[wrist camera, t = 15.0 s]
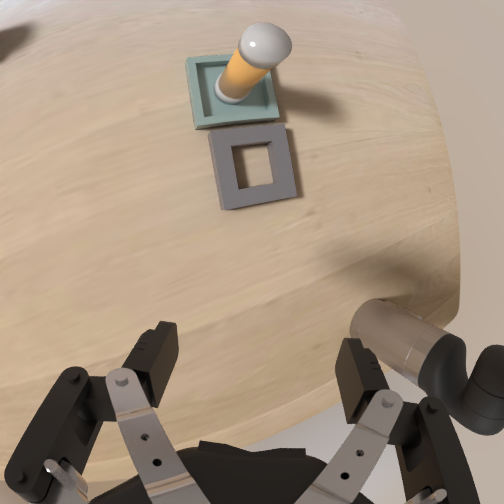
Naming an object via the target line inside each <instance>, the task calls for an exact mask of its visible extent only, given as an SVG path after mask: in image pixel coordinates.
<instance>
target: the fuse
mask: <svg viewBox="0 0 504 504" xmlns="http://www.w3.org/2000/svg"><path fill="white" fill-rule="evenodd" d="M291 50H292V42H291V39H290V37H289V36H288V34H287V33H286V32H285V31H284V30H283V29H281V28H280V27H278V26H276V25H274V24H271V23H266V22H259V23H255V24H252V25H250V26H249V27H248V28H247V29H246V31H245V32H244V34H243V36H242V37H241V39H240V40H239V43H238V48H237V49H236V51H235V52H234V54H233V56H232V57H231V59H230V61H229V63H228V64H227V66H226V68H225V69H224V71H223V73H221V74H220V75H219V77H218V79H217V80H216V82H215V84H214V94H215V96H216V98H217V99H218V100H219V101H221V102H222V103H224V104H227V105H236V104H239V103H241V102H242V101H243V100H244V99H245V98H246V97H247V96H248V95H249V94H250V92H251V90H252V89H253V87H254V86H255V85H256V84H257V83H258V82H259V81H260V80H261V79H262V78H263V77H264V76H265V75H266V74H267V73H268V72H269V71H270V70H271V69H272V68H274V67H276V66H278V65H279V64H280V63H281V62H282V61H283V60H284V59H285V58H286V57H287V56H288V55H289V54H290V53H291Z"/></svg>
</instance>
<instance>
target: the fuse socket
mask: <svg viewBox="0 0 504 504" xmlns="http://www.w3.org/2000/svg"><path fill="white" fill-rule="evenodd" d="M208 139H209V145H210V151H211V156H212V162H213V168H214V173H215V179H216V184H217V190H218V195H219V200H220V206H221V210H229V209H234V208H239V207H244V206H248V205H253V204H259V203H264V202H269V201H274V200H279V199H285V198H290V197H296V196H297V193H296V186H295V180H294V174H293V168H292V162H291V157H290V151H289V146H288V140H287V135H286V129H285V124H276V125H263V126H252V127H242V128H234V129H226V130H218V131H211V132H210V133H209V134H208ZM266 143H267V148H268V153H269V159H270V165H271V170H272V176H273V182H274V183H271V184H265V185H259V186H254V187H248V188H243V189H238V183H237V178H236V172H235V167H234V161H233V155H232V150H231V148H234V147H242V146H249V145H257V144H266Z"/></svg>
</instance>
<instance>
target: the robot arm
mask: <svg viewBox="0 0 504 504" xmlns="http://www.w3.org/2000/svg"><path fill="white" fill-rule="evenodd" d="M350 332H351V337H352V338H344V339H343V342H342V345H341V348H340V351H339V354H338V357H337V360H336V365H335V373H336V377H337V382H338V386H339V390H340V394H341V399H342V403H343V407H344V411H345V416H346V421H347V424H356V425H355V427H354V428H353V430H352V431H351V433H350V434H349V436H348V437H347V439H346V440H345V441H344V443H343V444H342V446H341V447H340V449H339V450H338V451H337V453H336V454H335V455H334V457H333V458H332V460H331V461H330V462H329V463H328V464H327V463H325V462H323V461H322V460H320V459H317V458H315V457H311V456H308V455H306V452H305V451H306V450H305V448H278V449H272V450H265V451H259V452H249V451H246V450H243V449H240V448H236V447H233V446H230V445H227V444H221V443H214V442H207V441H201V440H200V442H199V446H198V447H191V448H186V449H182V450H179V451H175V449H174V448H173V446H172V444H171V442H170V440H169V439H168V437H167V435H166V433H165V431H164V429H163V427H162V425H161V423H160V421H159V419H158V417H157V415H156V413H155V411H154V409H153V408H152V407H155V408H158V406H159V403H160V401H161V398H162V396H163V393H164V391H165V388H166V386H167V383H168V381H169V378H170V376H171V373H172V371H173V368H174V366H175V363H176V361H177V358H178V352H179V347H178V336H177V325H176V323H172V322H166V321H160V322H159V324H158V325H157V327H156V329H155V330H152V329H149V330H147V331H146V332H144V333H143V334H142V335H141V336H140V338H139V339H138V341H137V343H136V344H135V346H134V348H133V349H132V351H131V352H130V354H129V356H128V357H127V359H126V361H125V362H124V364H123V366H122V367H121V368H117V369H114V370H112V371H110V372H109V373H108V374H107V376H104V377H98V376H89V375H88V373H87V371H86V370H85V369H84V368H81V367H76V366H75V367H70V368H67V369H66V370H64V371H63V372H62V373H61V375H60V376H59V378H58V379H57V381H56V382H55V384H54V385H53V387H52V388H51V390H50V392H49V393H48V395H47V396H46V398H45V399H44V401H43V403H42V404H41V406H40V407H39V409H38V411H37V412H36V414H35V416H34V417H33V419H32V421H31V422H30V424H29V426H28V427H27V429H26V431H25V433H24V434H23V436H22V438H21V440H20V442H19V443H18V445H17V447H16V449H15V451H14V453H13V455H12V457H11V458H10V460H9V462H8V464H7V466H6V468H5V472H4V477H5V481H6V483H7V485H8V486H9V487H10V488H11V489H12V490H13V491H14V492H15V493H17V494H18V495H19V496H21V497H22V498H23V499H24V500H25V501H26V502H28V503H29V504H374V503H373V502H371V501H370V500H369V499H368V498H367V497H365V496H364V495H363V494H362V493H360V492H359V491H360V490H361V488H362V487H363V485H364V483H365V482H366V480H367V479H368V477H369V475H370V473H371V472H372V470H373V469H374V467H375V465H376V463H377V462H378V460H379V458H380V456H381V454H382V452H383V450H384V449H385V447H386V445H387V444H391V445H395V448H396V452H397V457H398V461H399V466H400V471H401V475H402V480H403V485H404V491H405V496H406V503H405V504H480V501H479V498H478V494H477V490H476V487H475V484H474V481H473V477H472V474H471V471H470V468H469V465H468V463H467V460H466V457H465V454H464V451H463V449H462V446H461V444H460V441H459V438H458V436H457V433H456V431H455V429H454V426H453V424H452V421H451V419H450V417H449V415H450V416H451V417H453V418H454V419H455V420H456V421H458V422H459V423H460V424H461V425H463V426H464V427H466V428H468V429H469V430H471V431H473V432H475V433H477V434H481V435H486V436H487V435H494V434H497V433H499V432H500V431H501V430H502V429H503V428H504V346H502V345H491V346H489V347H487V348H485V349H484V350H483V351H482V353H481V354H480V356H479V358H478V360H477V362H476V365H475V367H474V369H473V371H472V373H471V376H470V378H469V379H468V376H467V372H466V345H465V343H464V341H463V340H462V339H461V338H459V337H457V336H455V335H453V334H451V333H449V332H447V331H444V330H442V329H440V328H438V327H436V326H434V325H432V324H430V323H428V322H425V321H423V320H422V317H421V316H420V315H418V314H416V313H413V312H411V311H409V310H407V309H405V308H403V307H400V306H398V305H396V304H394V303H392V302H389V301H387V300H386V301H381V300H378V299H373V300H370V301H368V302H366V303H365V304H364V305H362V306H361V307H360V309H359V310H358V311H357V313H356V314H355V316H354V318H353V321H352V324H351V330H350ZM377 358H378V359H379V360H380V361H382V362H383V363H385V364H386V365H388V366H389V367H390V368H392V369H393V370H395V371H396V372H398V373H399V374H401V375H402V376H404V377H405V378H406V379H408V380H409V381H411V382H412V383H414V384H415V385H416V386H418V387H419V388H421V389H422V390H424V391H425V392H426V394H427V395H428V397H424V398H423V399H422V400H421V401H420V403H419V404H417V403H410V402H404V401H403V400H402V398H401V396H400V395H399V394H398V393H396V392H394V391H392V390H390V389H389V386H388V384H387V381H386V379H385V376H384V374H383V372H382V370H381V367H380V365H379V364H378V360H377ZM150 406H151V407H150ZM104 421H112V422H118V425H119V428H120V431H121V433H122V436H123V439H124V441H125V444H126V446H127V449H128V451H129V454H130V456H131V458H132V461H133V463H134V465H135V467H136V470H137V472H138V475H136V476H134V477H133V478H131V479H129V480H128V481H126V482H124V483H122V484H120V485H118V486H116V487H115V488H113V489H111V490H109V491H107V492H105V493H103V494H101V495H99V496H97V497H95V498H94V499H92V500H91V501H90V502H89V501H88V498H87V492H88V486H87V483H86V481H85V479H84V478H83V477H82V473H83V471H84V468H85V465H86V463H87V460H88V458H89V455H90V453H91V450H92V448H93V445H94V443H95V440H96V438H97V436H98V433H99V431H100V429H101V426H102V424H103V422H104Z"/></svg>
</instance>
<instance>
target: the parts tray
mask: <svg viewBox="0 0 504 504" xmlns="http://www.w3.org/2000/svg"><path fill="white" fill-rule="evenodd" d="M232 56H233V54H230V55H212V56H199V57H189V58H187V59H186V63H185V66H186V73H187V80H188V87H189V94H190V100H191V107H192V113H193V119H194V125H195V130H196V129H202V128H209V127H217V126H224V125H233V124H242V123H252V122H263V121H274V120H276V119H278V118H279V117H280V116H279V111H278V106H277V101H276V96H275V92H274V87H273V82H272V78H271V73H270V71H269V72H268V73H267V74H266V75H265V76H264V77H263V78H262V79H261V80H260V81H259V82H258V83H257V84H256V85H255V86H254V87H253V89H252V90H251V92H250V94H249V95H248V96H247V97H246V98H245V99H244V100H243V101H242V102H241V103H239V104H236V105H227V104H224V103H222V102H221V101H219V100H218V99H217V98H216V96H215V94H214V84H215V82H216V80H217V79H218V77H219V75H220V74H221V73H223V71H224V69H225V68H226V66H227V64H228V63H229V61H230V59H231V57H232Z"/></svg>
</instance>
